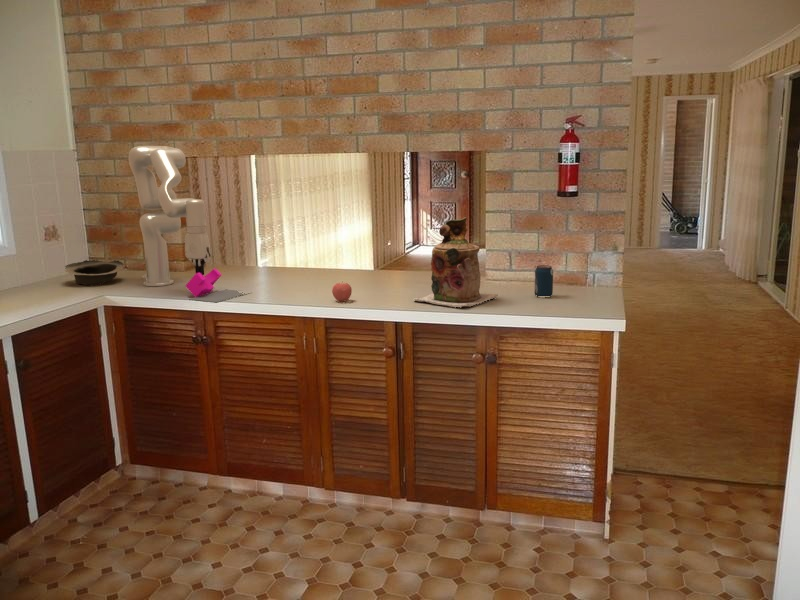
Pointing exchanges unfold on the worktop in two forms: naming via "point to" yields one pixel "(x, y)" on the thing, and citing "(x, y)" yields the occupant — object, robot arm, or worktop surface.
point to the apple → (342, 291)
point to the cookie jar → (455, 269)
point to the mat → (218, 296)
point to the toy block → (203, 283)
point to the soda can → (544, 280)
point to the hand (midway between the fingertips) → (200, 275)
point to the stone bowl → (94, 271)
